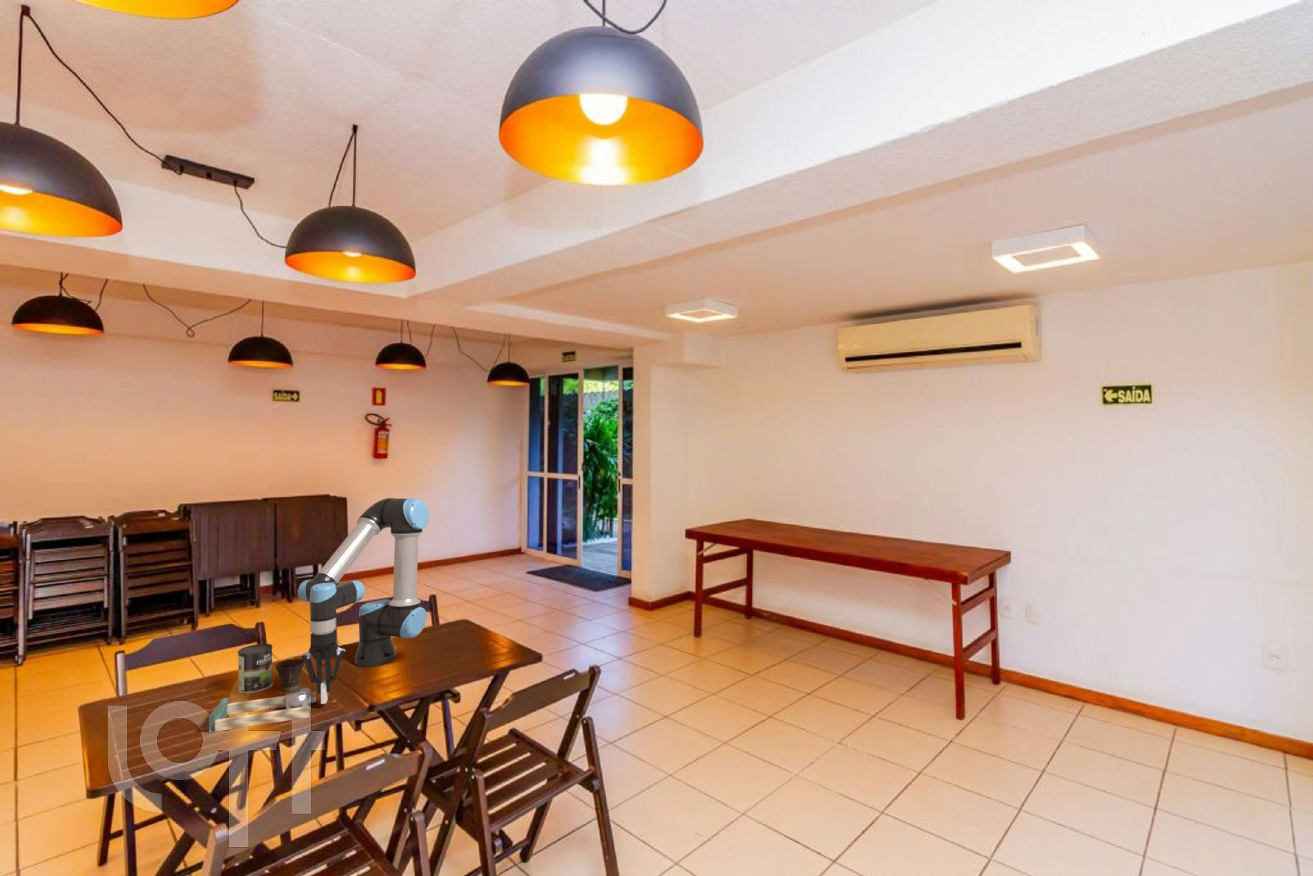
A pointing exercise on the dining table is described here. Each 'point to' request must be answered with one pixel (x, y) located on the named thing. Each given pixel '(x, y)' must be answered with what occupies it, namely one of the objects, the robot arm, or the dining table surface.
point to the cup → (290, 673)
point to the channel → (224, 708)
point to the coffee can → (255, 668)
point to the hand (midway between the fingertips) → (324, 701)
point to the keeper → (298, 698)
